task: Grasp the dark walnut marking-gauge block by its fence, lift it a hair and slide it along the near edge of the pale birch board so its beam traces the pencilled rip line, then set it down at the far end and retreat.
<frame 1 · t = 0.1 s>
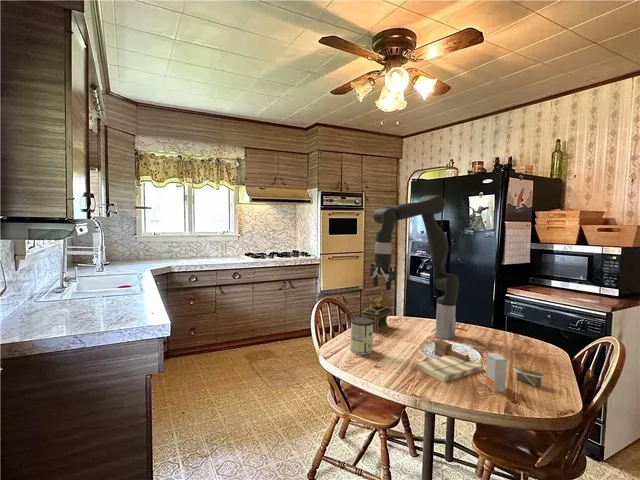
hand: (381, 287, 161), 29 cm above the table, fingers open, 8 cm apart
grey storage bin: (528, 385, 134), on the table
decorative box: (378, 328, 198), on the table
coffee can: (361, 350, 163), on the table
board: (449, 369, 145), on the table
gauge: (442, 356, 159), on the table
skincare box: (494, 388, 129), on the table
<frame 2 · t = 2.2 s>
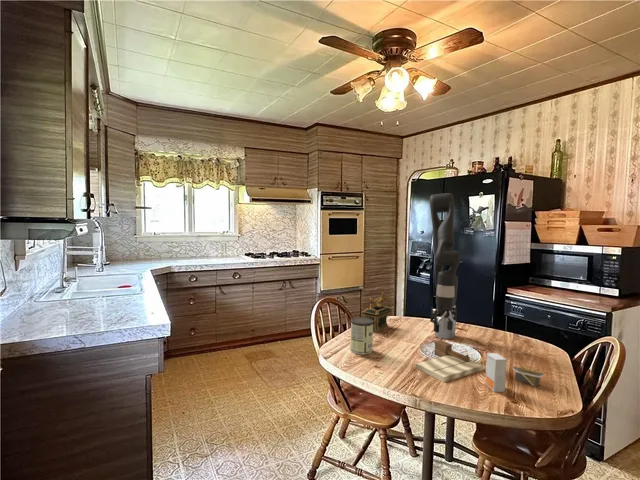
hand: (443, 330, 158), 11 cm above the table, fingers open, 8 cm apart
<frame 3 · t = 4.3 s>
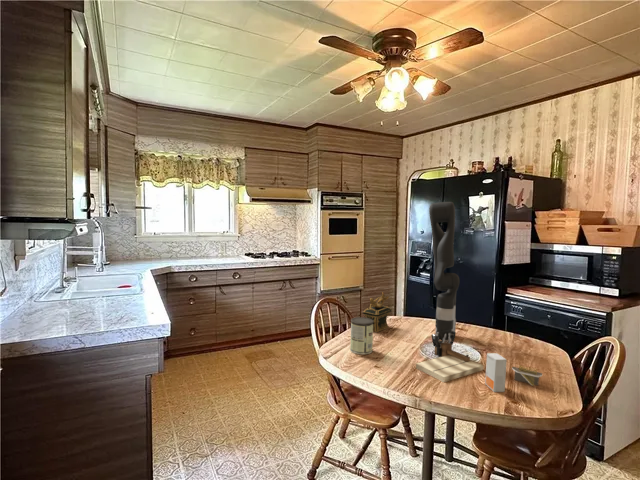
hand: (442, 354, 159), 0 cm above the table, fingers closed on gauge, 4 cm apart
gauge: (442, 355, 159), on the table, touching gripper
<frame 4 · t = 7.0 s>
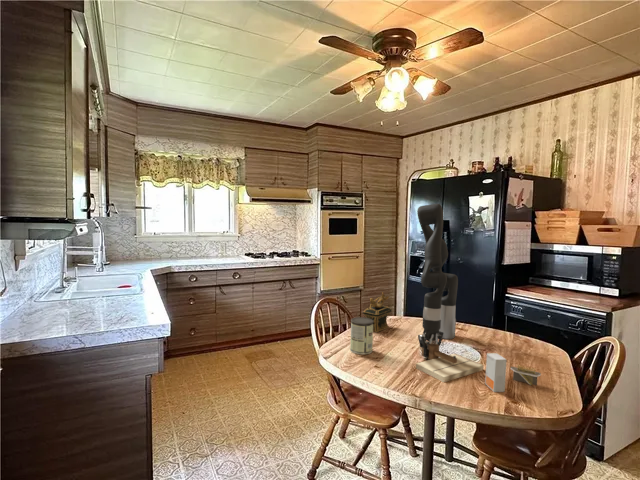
hand: (429, 356, 154), 2 cm above the table, fingers closed on gauge, 4 cm apart
gauge: (429, 357, 154), point 1 cm above the table, touching gripper
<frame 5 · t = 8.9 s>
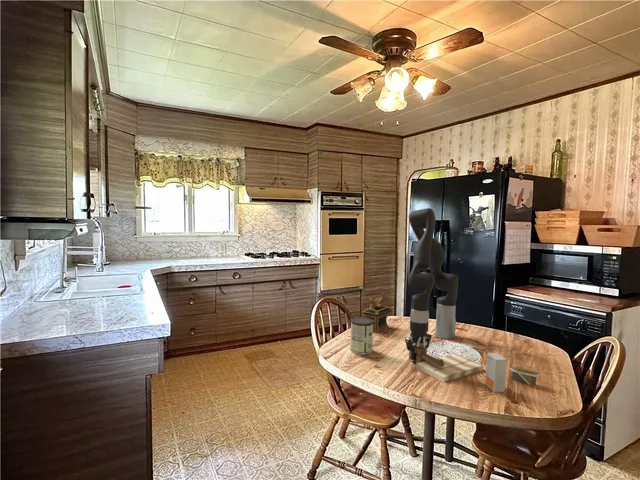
hand: (417, 359, 151), 1 cm above the table, fingers closed on gauge, 4 cm apart
gauge: (417, 360, 151), point 1 cm above the table, touching gripper
when the fingers open (1 cm above the table, at t = 10.2 s): gauge stays where it is, on the table.
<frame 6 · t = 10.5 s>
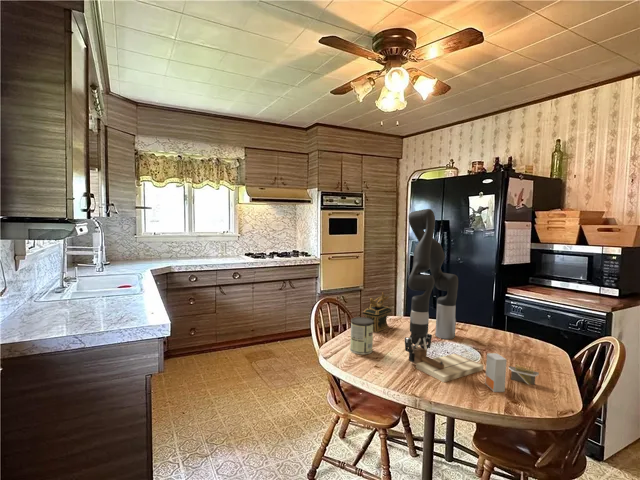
hand: (417, 359, 151), 1 cm above the table, fingers open, 6 cm apart
gauge: (417, 362, 151), on the table
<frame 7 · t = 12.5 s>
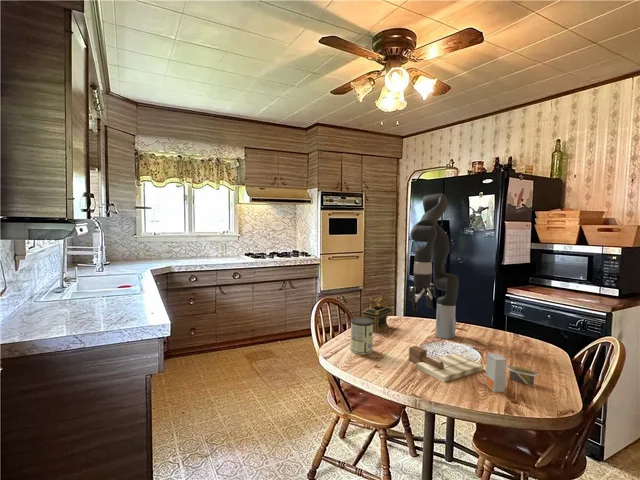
hand: (421, 308, 154), 22 cm above the table, fingers open, 8 cm apart
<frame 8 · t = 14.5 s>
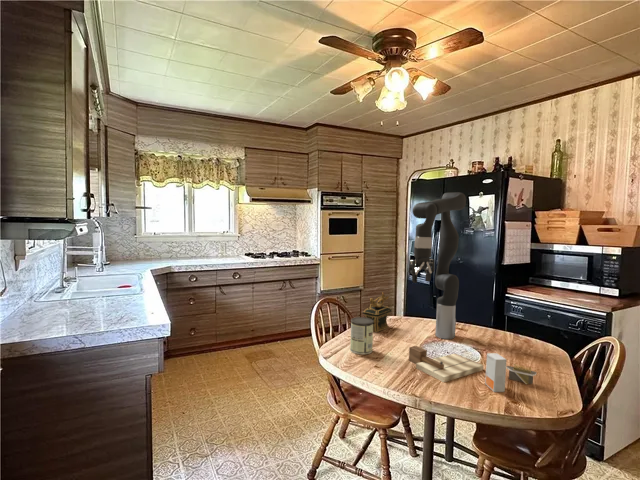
hand: (421, 282, 163), 32 cm above the table, fingers open, 8 cm apart
at the end: gauge inside the target area (0.1 cm from its centre), on the table; gauge tilted 0°; the gripper is holding nothing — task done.
